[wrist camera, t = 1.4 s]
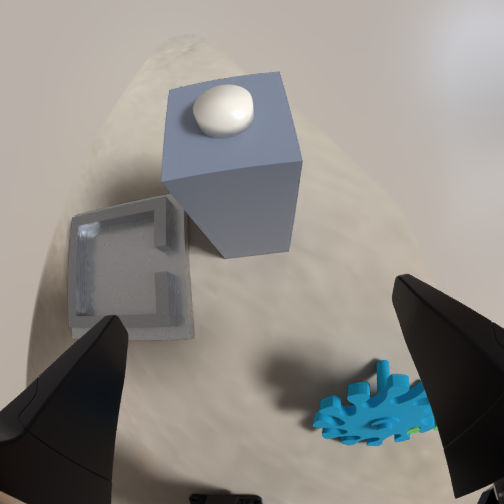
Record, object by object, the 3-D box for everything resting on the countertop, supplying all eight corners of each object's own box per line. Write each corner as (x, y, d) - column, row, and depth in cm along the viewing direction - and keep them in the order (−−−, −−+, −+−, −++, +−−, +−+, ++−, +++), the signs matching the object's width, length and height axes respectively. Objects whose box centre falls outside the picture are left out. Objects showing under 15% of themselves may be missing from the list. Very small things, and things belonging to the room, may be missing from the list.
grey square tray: (194, 338, 21) (184, 340, 18) (78, 338, 21) (62, 338, 19) (187, 196, 24) (177, 183, 21) (80, 218, 24) (66, 210, 22)
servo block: (289, 251, 22) (304, 147, 8) (225, 259, 22) (152, 171, 9) (280, 193, 23) (278, 58, 9) (221, 201, 23) (163, 78, 10)
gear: (287, 438, 17) (372, 378, 11) (299, 376, 22) (367, 299, 16) (397, 457, 16) (488, 405, 11) (397, 404, 21) (471, 344, 15)
